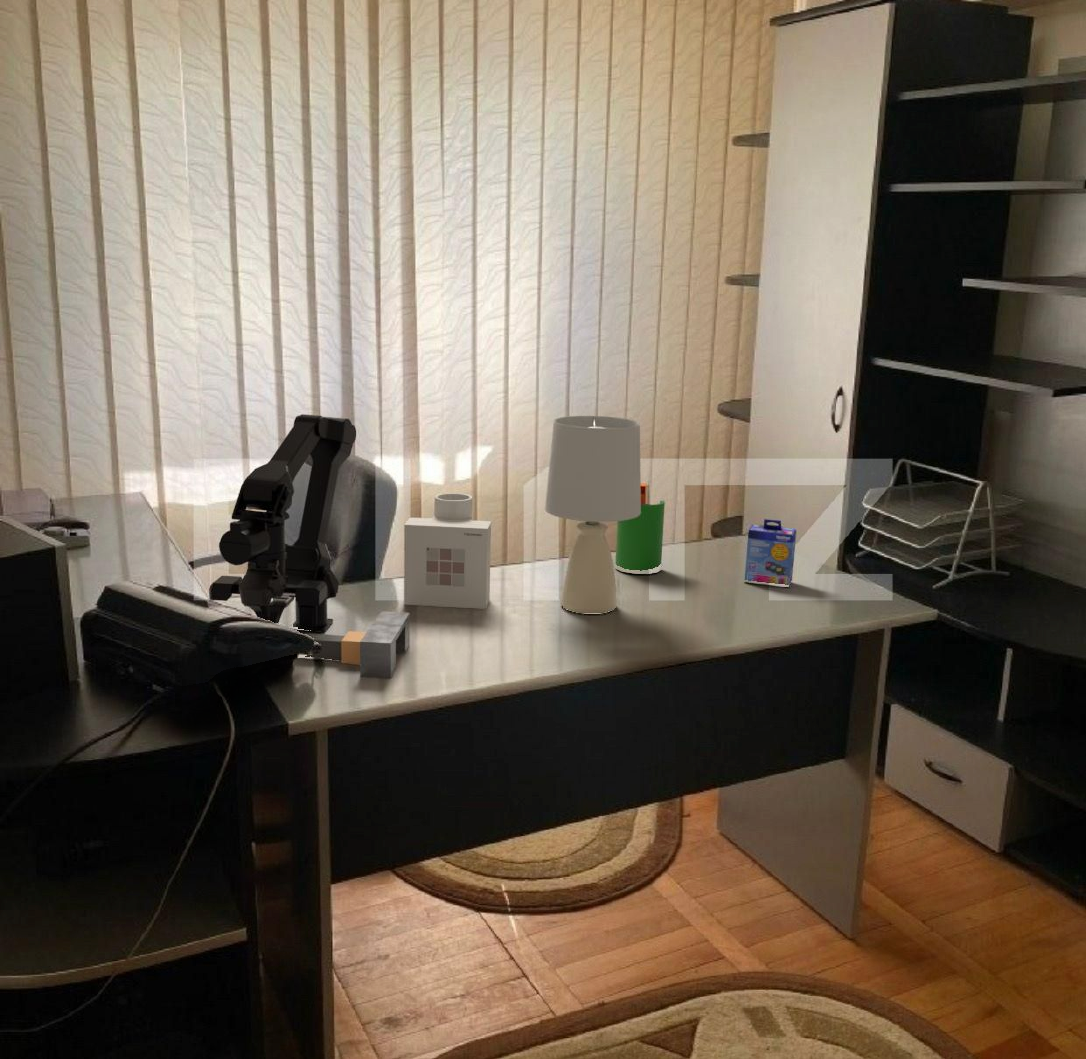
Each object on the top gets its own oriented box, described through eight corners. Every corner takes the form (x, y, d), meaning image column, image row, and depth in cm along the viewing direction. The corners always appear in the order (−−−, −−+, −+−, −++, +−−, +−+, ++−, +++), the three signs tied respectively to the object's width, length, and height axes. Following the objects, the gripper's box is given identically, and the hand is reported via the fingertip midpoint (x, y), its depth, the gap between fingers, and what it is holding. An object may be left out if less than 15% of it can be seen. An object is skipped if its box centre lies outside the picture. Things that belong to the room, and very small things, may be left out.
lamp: (542, 620, 214) (548, 427, 205) (541, 591, 232) (547, 413, 223) (640, 623, 214) (650, 430, 206) (631, 594, 233) (640, 416, 224)
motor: (658, 565, 255) (663, 478, 251) (663, 576, 247) (669, 486, 242) (613, 564, 255) (618, 477, 250) (617, 575, 246) (622, 485, 241)
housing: (381, 643, 199) (381, 611, 197) (409, 645, 198) (409, 612, 197) (360, 676, 183) (360, 641, 182) (390, 678, 183) (390, 643, 181)
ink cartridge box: (743, 583, 243) (748, 518, 240) (746, 577, 248) (751, 513, 245) (789, 589, 240) (795, 523, 237) (792, 582, 245) (798, 517, 242)
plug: (303, 650, 194) (302, 628, 193) (371, 654, 193) (371, 632, 192) (294, 660, 189) (294, 638, 188) (365, 664, 188) (364, 642, 188)
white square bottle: (403, 605, 221) (403, 505, 216) (420, 578, 239) (421, 486, 234) (485, 609, 220) (488, 509, 215) (496, 582, 238) (498, 490, 233)
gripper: (194, 559, 181) (198, 651, 184) (309, 566, 179) (310, 658, 183) (219, 542, 191) (222, 629, 195) (327, 548, 190) (328, 636, 194)
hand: (270, 638), depth 191 cm, fingers closed
